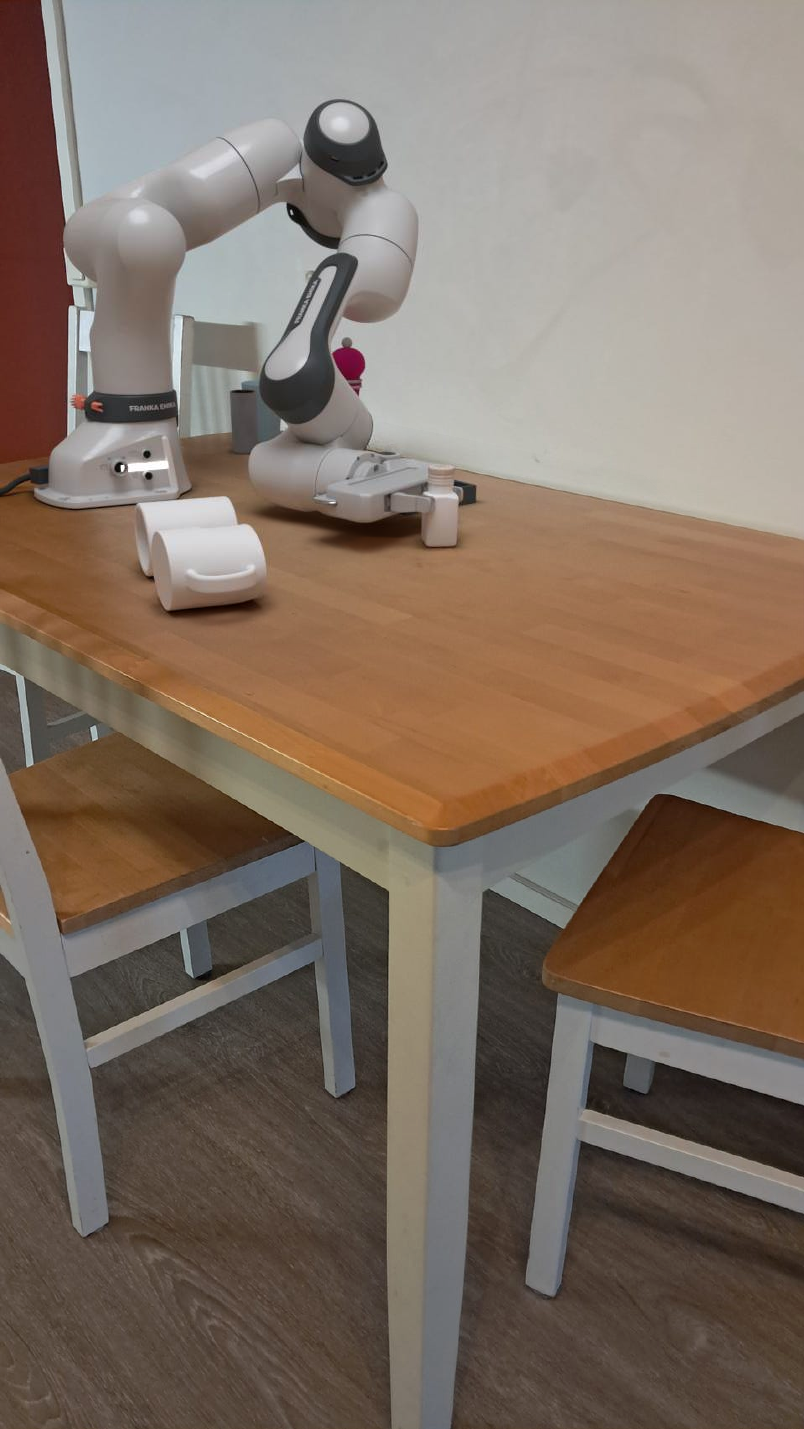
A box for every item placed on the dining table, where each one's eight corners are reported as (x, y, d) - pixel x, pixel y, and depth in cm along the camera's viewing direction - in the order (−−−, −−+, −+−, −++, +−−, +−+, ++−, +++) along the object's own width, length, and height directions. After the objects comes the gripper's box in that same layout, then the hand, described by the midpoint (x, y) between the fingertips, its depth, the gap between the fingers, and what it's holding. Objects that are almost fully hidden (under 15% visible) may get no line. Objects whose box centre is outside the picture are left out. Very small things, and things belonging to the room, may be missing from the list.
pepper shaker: (451, 539, 134) (454, 463, 130) (457, 547, 131) (460, 469, 127) (420, 539, 134) (422, 463, 130) (425, 548, 130) (427, 469, 126)
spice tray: (405, 514, 146) (405, 496, 145) (348, 497, 155) (347, 480, 154) (475, 502, 154) (476, 485, 153) (417, 486, 163) (417, 470, 162)
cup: (251, 444, 194) (248, 385, 190) (238, 438, 201) (235, 380, 196) (290, 442, 197) (289, 383, 193) (276, 436, 204) (274, 379, 200)
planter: (227, 452, 187) (224, 391, 183) (242, 448, 191) (239, 388, 187) (249, 454, 185) (246, 393, 181) (263, 450, 189) (261, 390, 185)
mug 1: (242, 575, 119) (238, 504, 115) (152, 585, 115) (146, 511, 112) (213, 549, 129) (209, 482, 125) (130, 557, 125) (123, 489, 122)
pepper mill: (367, 466, 177) (368, 339, 169) (324, 465, 178) (322, 338, 169) (369, 458, 184) (370, 335, 176) (328, 457, 184) (326, 335, 176)
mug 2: (152, 596, 111) (146, 520, 108) (239, 585, 115) (235, 512, 112) (183, 631, 101) (177, 549, 98) (276, 618, 105) (273, 539, 102)
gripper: (303, 473, 127) (399, 488, 120) (399, 449, 143) (488, 461, 136) (304, 525, 130) (398, 543, 123) (398, 496, 145) (486, 510, 138)
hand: (446, 500), depth 130 cm, fingers closed on pepper shaker, 5 cm apart
